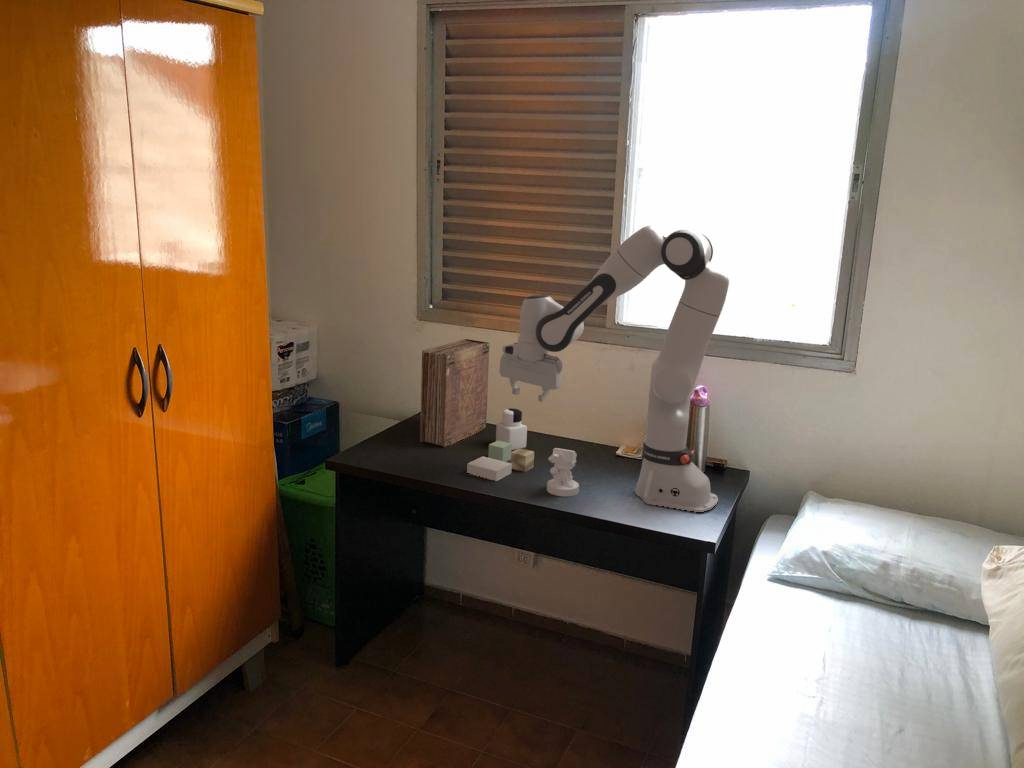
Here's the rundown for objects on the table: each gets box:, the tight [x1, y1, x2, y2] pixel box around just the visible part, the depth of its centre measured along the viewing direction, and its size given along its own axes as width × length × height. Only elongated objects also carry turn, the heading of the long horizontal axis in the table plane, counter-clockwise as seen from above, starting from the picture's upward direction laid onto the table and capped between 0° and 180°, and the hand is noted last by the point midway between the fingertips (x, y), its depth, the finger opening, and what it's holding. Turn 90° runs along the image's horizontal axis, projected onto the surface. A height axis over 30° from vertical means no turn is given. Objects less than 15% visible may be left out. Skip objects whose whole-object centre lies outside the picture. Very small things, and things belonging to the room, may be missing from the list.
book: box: [419, 338, 490, 449], centre depth 263 cm, size 25×9×30 cm, turn 150°
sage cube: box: [487, 440, 513, 462], centre depth 245 cm, size 5×5×5 cm
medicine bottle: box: [495, 407, 528, 451], centre depth 257 cm, size 7×7×12 cm
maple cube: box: [510, 448, 535, 473], centre depth 239 cm, size 5×5×5 cm
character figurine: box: [546, 447, 580, 497], centre depth 223 cm, size 9×10×12 cm
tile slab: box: [466, 456, 513, 482], centre depth 234 cm, size 10×8×3 cm
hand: (528, 397), depth 235 cm, fingers open, 8 cm apart
